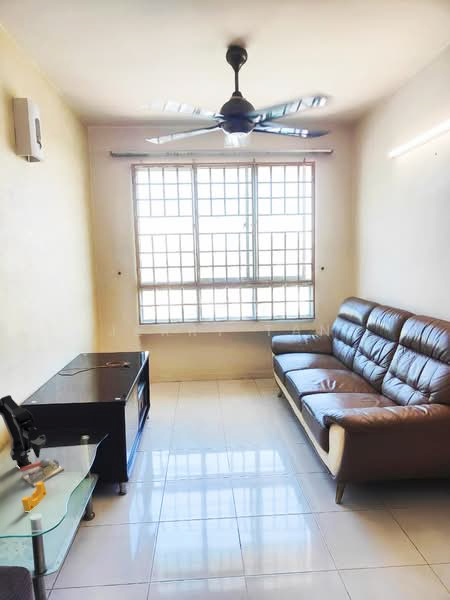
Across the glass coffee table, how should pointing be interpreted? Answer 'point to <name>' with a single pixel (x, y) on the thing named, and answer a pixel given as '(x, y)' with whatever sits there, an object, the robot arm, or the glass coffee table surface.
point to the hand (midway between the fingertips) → (33, 462)
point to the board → (43, 478)
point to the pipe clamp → (34, 497)
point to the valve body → (43, 471)
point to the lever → (36, 465)
